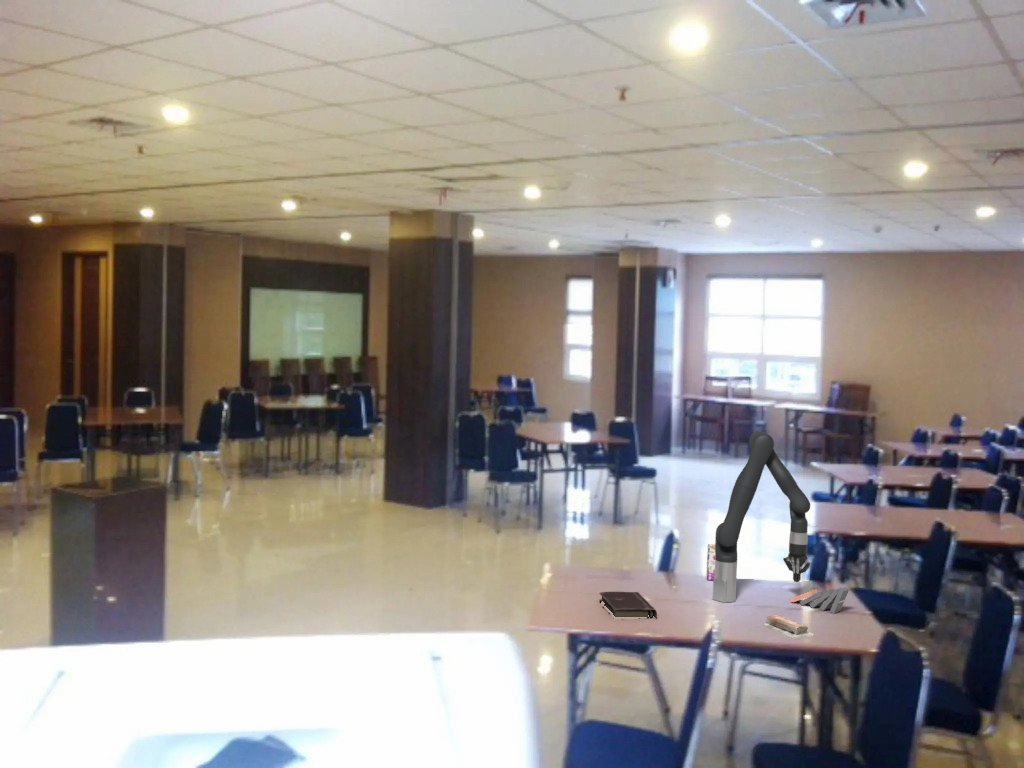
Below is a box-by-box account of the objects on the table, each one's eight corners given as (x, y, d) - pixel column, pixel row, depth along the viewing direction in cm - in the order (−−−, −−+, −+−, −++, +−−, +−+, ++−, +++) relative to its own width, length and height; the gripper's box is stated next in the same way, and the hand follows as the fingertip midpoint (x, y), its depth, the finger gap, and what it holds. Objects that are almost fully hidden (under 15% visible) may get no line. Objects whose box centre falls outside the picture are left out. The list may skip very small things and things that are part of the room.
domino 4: (829, 608, 401) (844, 591, 395) (822, 611, 397) (837, 593, 392) (825, 605, 402) (840, 587, 396) (819, 607, 398) (834, 589, 393)
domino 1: (797, 600, 411) (818, 593, 404) (791, 603, 408) (812, 595, 400) (795, 596, 412) (816, 588, 405) (789, 598, 408) (810, 591, 401)
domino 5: (839, 611, 397) (849, 589, 394) (833, 613, 393) (843, 591, 390) (836, 608, 398) (845, 586, 395) (829, 611, 395) (839, 588, 391)
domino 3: (818, 606, 404) (836, 592, 398) (812, 608, 400) (830, 594, 394) (815, 602, 405) (833, 588, 399) (809, 604, 401) (827, 590, 395)
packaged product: (762, 614, 375) (781, 612, 380) (761, 626, 375) (780, 623, 380) (795, 628, 359) (814, 625, 364) (794, 640, 359) (814, 637, 364)
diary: (639, 602, 406) (639, 591, 405) (656, 620, 381) (657, 608, 381) (596, 603, 403) (597, 591, 402) (611, 621, 378) (612, 608, 378)
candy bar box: (707, 580, 440) (708, 546, 439) (706, 578, 445) (707, 543, 444) (731, 582, 439) (733, 547, 438) (730, 579, 444) (731, 544, 443)
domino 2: (808, 603, 408) (827, 593, 401) (801, 605, 404) (821, 595, 397) (805, 599, 408) (825, 589, 401) (799, 601, 405) (819, 591, 398)
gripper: (779, 540, 409) (778, 579, 411) (808, 546, 400) (806, 586, 401) (789, 537, 415) (787, 576, 416) (816, 543, 405) (815, 583, 406)
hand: (796, 581), depth 408 cm, fingers closed
